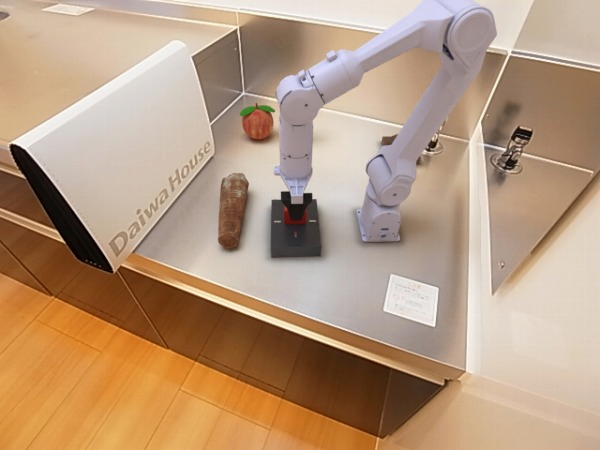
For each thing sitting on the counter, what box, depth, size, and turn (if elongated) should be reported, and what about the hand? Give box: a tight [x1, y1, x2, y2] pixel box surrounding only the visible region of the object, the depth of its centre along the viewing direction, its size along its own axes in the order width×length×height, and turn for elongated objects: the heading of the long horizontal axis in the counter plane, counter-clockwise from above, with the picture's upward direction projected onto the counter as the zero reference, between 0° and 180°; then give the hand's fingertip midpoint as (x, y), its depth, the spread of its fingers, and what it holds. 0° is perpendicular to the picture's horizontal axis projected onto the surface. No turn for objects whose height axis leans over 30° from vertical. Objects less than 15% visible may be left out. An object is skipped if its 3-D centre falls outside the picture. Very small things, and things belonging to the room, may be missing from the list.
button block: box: [380, 133, 422, 166], centre depth 98 cm, size 10×8×4 cm
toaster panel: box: [270, 198, 323, 258], centre depth 78 cm, size 14×10×3 cm
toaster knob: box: [284, 207, 306, 224], centre depth 75 cm, size 4×1×4 cm, turn 92°
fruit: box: [239, 102, 276, 140], centre depth 101 cm, size 9×10×10 cm
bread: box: [217, 172, 250, 249], centre depth 79 cm, size 6×19×6 cm, turn 0°
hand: (295, 205), depth 74 cm, fingers open, 7 cm apart
